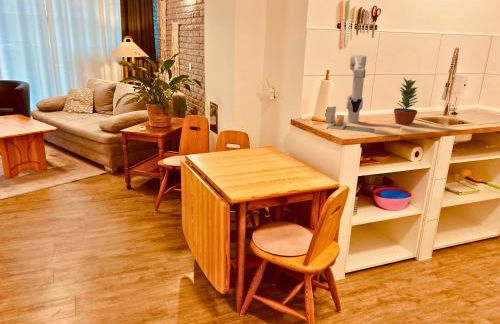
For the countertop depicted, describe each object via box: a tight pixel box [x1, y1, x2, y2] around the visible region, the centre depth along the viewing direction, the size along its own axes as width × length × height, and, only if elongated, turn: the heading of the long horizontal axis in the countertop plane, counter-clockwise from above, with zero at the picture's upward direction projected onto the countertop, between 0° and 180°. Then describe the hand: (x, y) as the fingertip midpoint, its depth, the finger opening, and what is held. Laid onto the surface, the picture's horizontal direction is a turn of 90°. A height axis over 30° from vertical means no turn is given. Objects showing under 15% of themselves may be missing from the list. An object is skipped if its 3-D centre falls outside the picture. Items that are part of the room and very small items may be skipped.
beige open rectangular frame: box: [329, 114, 347, 130], centre depth 237 cm, size 13×8×6 cm, turn 157°
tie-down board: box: [326, 123, 376, 133], centre depth 235 cm, size 12×27×1 cm, turn 67°
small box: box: [324, 104, 337, 124], centre depth 255 cm, size 8×6×10 cm
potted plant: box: [393, 77, 420, 126], centre depth 252 cm, size 15×15×30 cm
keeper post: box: [335, 118, 340, 127], centre depth 237 cm, size 2×2×4 cm
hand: (355, 111), depth 235 cm, fingers open, 4 cm apart
